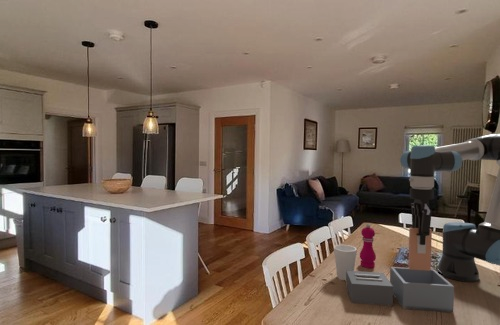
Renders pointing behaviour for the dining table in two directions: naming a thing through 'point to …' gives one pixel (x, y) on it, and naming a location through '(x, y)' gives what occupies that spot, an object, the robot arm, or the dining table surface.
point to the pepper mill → (367, 248)
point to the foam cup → (344, 259)
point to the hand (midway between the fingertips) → (419, 251)
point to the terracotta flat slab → (419, 259)
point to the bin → (422, 289)
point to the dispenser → (369, 288)
